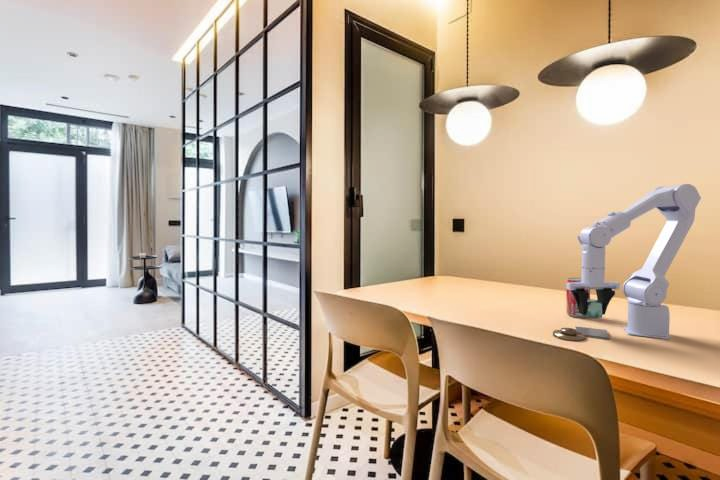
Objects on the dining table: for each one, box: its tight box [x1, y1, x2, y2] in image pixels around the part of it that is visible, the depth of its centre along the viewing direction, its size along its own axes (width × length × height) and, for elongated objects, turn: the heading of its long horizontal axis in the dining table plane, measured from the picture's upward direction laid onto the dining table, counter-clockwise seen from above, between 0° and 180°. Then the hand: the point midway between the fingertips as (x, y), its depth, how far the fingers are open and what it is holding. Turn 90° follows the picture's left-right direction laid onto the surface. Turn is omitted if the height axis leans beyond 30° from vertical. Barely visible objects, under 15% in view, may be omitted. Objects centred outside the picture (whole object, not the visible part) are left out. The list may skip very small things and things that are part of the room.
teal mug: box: [582, 298, 603, 320], centre depth 107 cm, size 7×5×4 cm
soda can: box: [565, 277, 591, 319], centre depth 127 cm, size 7×7×13 cm
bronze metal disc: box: [552, 327, 586, 342], centre depth 106 cm, size 8×8×2 cm
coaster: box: [575, 326, 611, 340], centre depth 108 cm, size 8×8×1 cm
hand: (592, 313), depth 108 cm, fingers closed on teal mug, 5 cm apart
